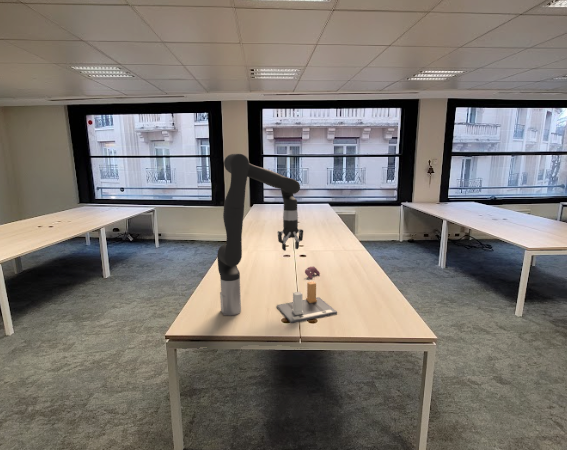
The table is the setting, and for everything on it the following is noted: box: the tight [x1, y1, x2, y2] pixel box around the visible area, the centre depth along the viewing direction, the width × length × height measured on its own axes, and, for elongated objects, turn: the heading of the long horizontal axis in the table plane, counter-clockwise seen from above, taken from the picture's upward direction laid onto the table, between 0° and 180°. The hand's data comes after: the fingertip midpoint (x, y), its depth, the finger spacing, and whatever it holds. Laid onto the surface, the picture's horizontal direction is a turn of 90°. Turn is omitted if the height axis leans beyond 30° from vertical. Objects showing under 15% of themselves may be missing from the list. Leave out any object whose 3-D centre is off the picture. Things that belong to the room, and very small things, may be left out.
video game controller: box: [304, 266, 321, 280], centre depth 205 cm, size 10×5×7 cm, turn 141°
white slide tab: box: [292, 291, 303, 315], centre depth 154 cm, size 4×4×10 cm
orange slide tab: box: [305, 280, 317, 303], centre depth 166 cm, size 4×4×10 cm
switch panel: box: [276, 296, 338, 324], centre depth 160 cm, size 24×18×1 cm
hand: (290, 249), depth 172 cm, fingers open, 6 cm apart
